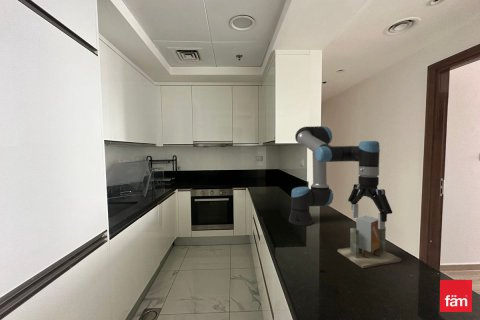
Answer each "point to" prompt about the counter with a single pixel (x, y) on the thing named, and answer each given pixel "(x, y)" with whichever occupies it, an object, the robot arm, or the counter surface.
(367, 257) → the peg stand
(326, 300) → the counter surface
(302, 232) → the counter surface
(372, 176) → the robot arm
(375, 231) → the small box
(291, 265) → the counter surface
